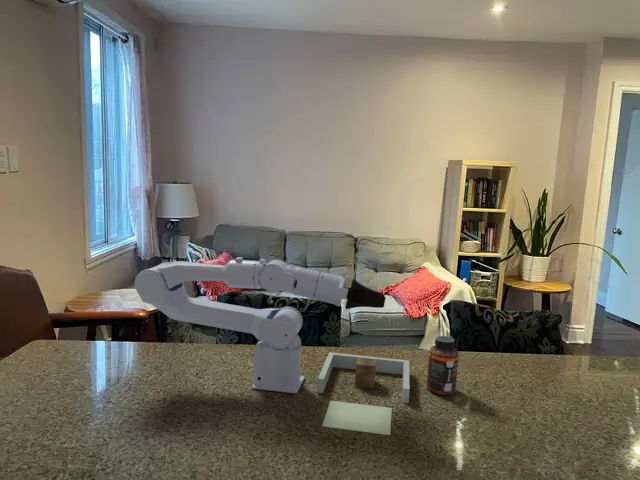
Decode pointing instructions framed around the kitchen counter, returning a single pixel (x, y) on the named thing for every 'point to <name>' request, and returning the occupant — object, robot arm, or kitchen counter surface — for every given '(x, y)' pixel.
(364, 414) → the mat
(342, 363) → the u-shaped barrier
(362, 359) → the block
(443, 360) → the supplement bottle
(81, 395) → the kitchen counter surface
